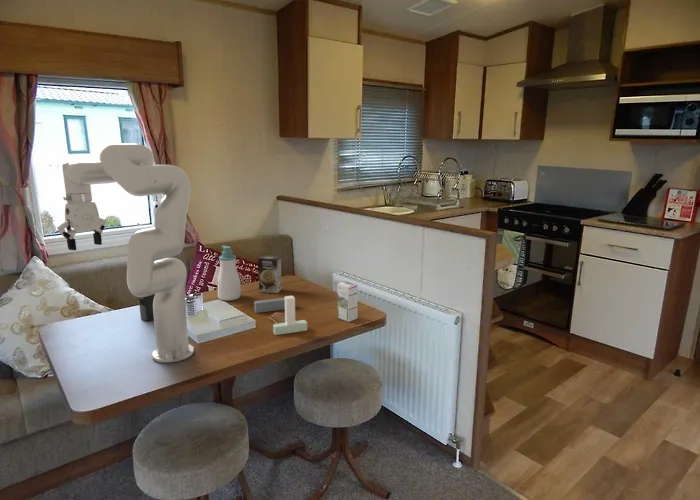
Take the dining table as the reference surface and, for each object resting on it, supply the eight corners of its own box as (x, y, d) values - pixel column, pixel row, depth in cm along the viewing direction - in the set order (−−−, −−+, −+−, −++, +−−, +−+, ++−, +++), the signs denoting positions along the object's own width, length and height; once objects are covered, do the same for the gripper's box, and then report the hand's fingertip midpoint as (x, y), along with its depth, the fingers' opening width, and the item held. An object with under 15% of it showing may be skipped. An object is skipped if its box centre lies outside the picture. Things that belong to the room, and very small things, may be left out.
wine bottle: (147, 322, 172) (140, 244, 165) (139, 318, 175) (132, 242, 168) (161, 317, 176) (154, 242, 169) (153, 314, 179) (146, 240, 173)
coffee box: (258, 292, 208) (257, 258, 204) (263, 288, 214) (262, 254, 210) (277, 293, 206) (276, 259, 203) (282, 289, 213) (281, 255, 209)
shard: (279, 328, 169) (279, 323, 168) (260, 325, 171) (260, 321, 170) (291, 318, 179) (291, 313, 178) (273, 315, 181) (273, 311, 181)
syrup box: (357, 318, 178) (358, 283, 174) (347, 322, 173) (348, 286, 170) (347, 314, 181) (347, 280, 178) (337, 318, 177) (337, 283, 174)
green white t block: (304, 327, 169) (304, 294, 166) (307, 330, 166) (307, 296, 163) (273, 332, 164) (272, 297, 161) (275, 335, 162) (274, 300, 159)
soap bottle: (234, 292, 207) (231, 243, 202) (245, 297, 200) (242, 247, 195) (214, 297, 201) (211, 246, 195) (224, 302, 194) (221, 250, 188)
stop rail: (294, 307, 188) (294, 298, 187) (255, 312, 182) (255, 303, 181) (292, 305, 191) (292, 296, 190) (254, 310, 185) (254, 301, 184)
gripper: (62, 201, 146) (69, 253, 150) (109, 196, 161) (114, 243, 165) (47, 200, 149) (54, 251, 153) (94, 195, 164) (100, 241, 168)
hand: (85, 247), depth 159 cm, fingers open, 9 cm apart
